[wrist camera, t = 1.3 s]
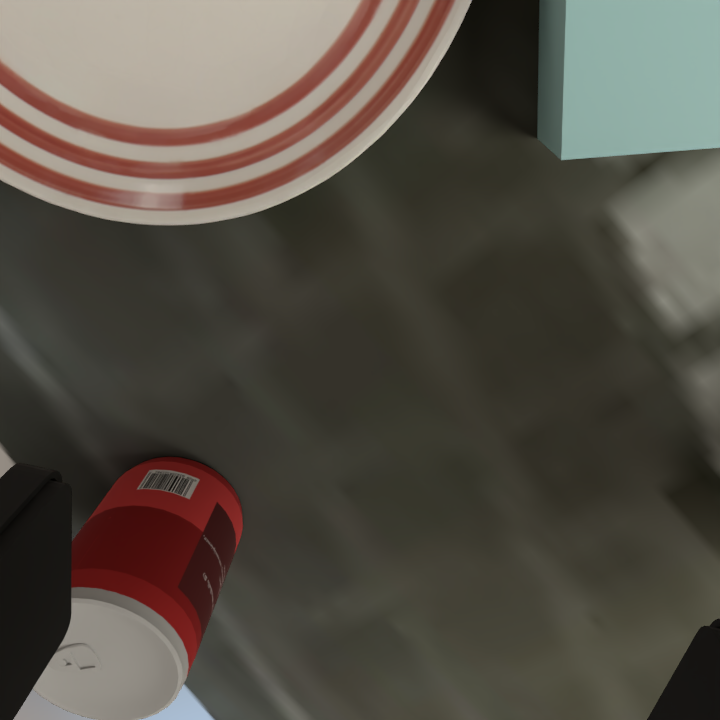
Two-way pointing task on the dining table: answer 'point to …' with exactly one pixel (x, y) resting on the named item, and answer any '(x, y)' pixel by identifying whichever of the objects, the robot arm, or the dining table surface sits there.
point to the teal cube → (628, 76)
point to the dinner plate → (203, 98)
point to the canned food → (143, 590)
